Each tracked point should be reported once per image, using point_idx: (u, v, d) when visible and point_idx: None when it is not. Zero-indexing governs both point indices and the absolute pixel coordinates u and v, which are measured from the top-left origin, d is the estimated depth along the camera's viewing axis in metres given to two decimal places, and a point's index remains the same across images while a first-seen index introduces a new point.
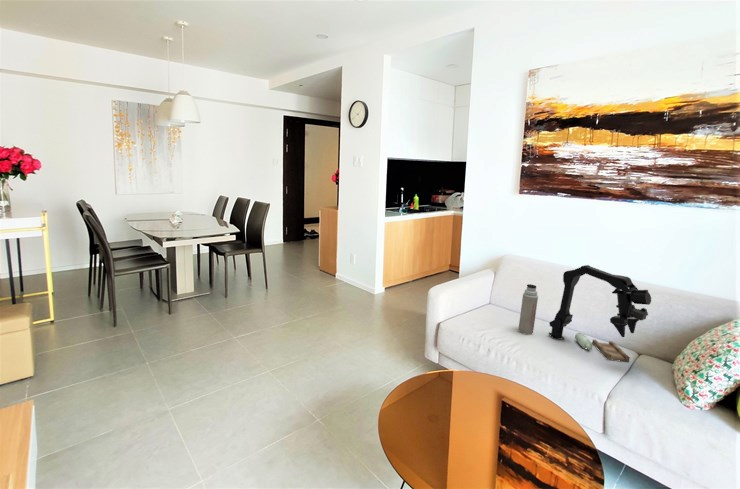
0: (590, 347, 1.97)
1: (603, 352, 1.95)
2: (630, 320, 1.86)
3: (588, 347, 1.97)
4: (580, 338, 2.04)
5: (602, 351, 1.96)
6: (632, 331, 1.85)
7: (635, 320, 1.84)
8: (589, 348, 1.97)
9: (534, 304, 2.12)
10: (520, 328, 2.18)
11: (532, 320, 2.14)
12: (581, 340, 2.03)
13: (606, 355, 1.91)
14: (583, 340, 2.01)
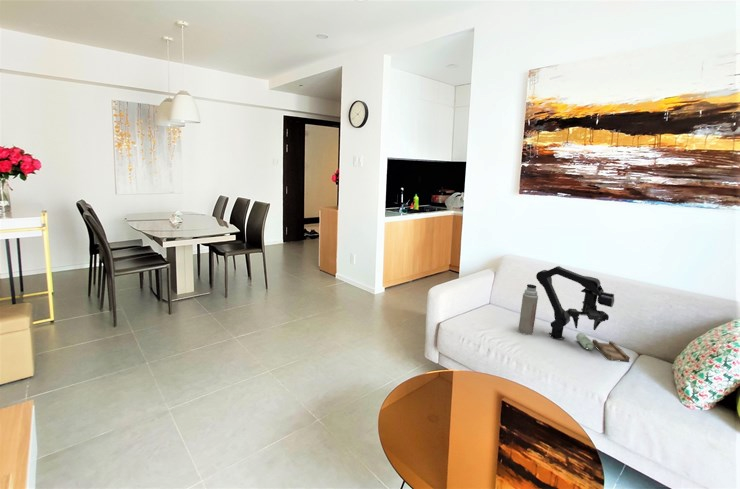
0: (591, 347, 1.97)
1: (603, 352, 1.95)
2: None
3: (589, 347, 1.97)
4: (582, 337, 2.04)
5: (602, 351, 1.96)
6: (594, 328, 2.03)
7: (598, 320, 2.00)
8: (590, 348, 1.97)
9: (534, 304, 2.12)
10: (520, 328, 2.18)
11: (532, 320, 2.14)
12: (583, 339, 2.02)
13: (606, 355, 1.91)
14: (586, 340, 2.01)
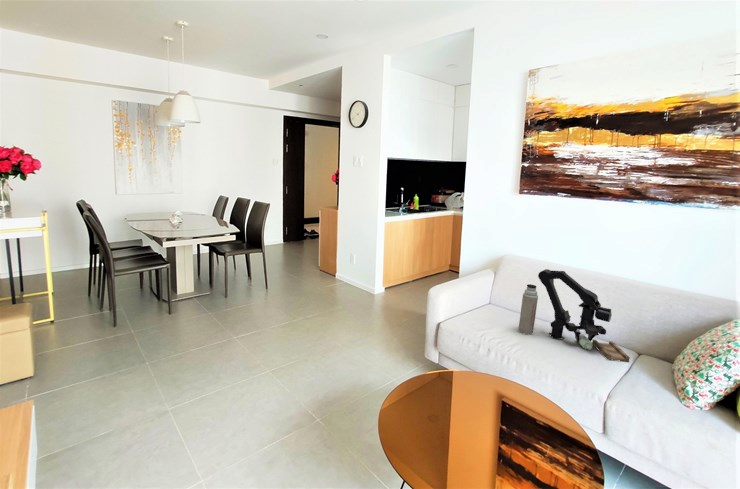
0: (590, 347, 1.97)
1: (603, 352, 1.95)
2: None
3: (588, 347, 1.97)
4: (580, 338, 2.04)
5: (602, 351, 1.96)
6: None
7: None
8: (589, 348, 1.97)
9: (534, 304, 2.12)
10: (520, 328, 2.18)
11: (532, 320, 2.14)
12: (581, 340, 2.03)
13: (606, 355, 1.91)
14: (583, 340, 2.01)
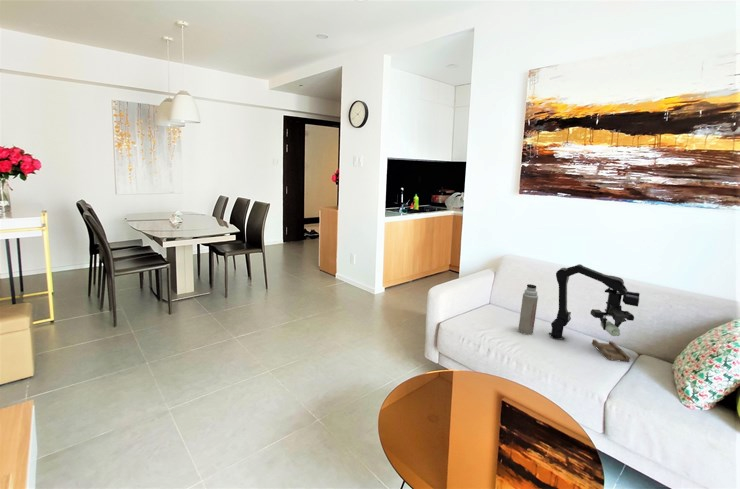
0: (618, 333, 1.90)
1: (603, 352, 1.95)
2: None
3: (616, 333, 1.90)
4: (606, 325, 1.97)
5: (602, 351, 1.96)
6: None
7: None
8: (617, 334, 1.90)
9: (534, 304, 2.12)
10: (520, 328, 2.18)
11: (532, 320, 2.14)
12: (608, 327, 1.95)
13: (606, 355, 1.91)
14: (610, 326, 1.94)
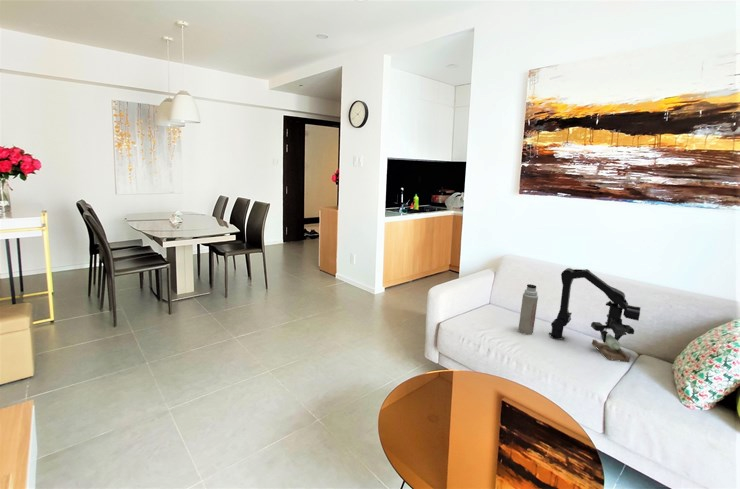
0: (618, 347, 1.91)
1: (603, 352, 1.95)
2: None
3: (616, 347, 1.91)
4: (607, 337, 1.98)
5: (602, 351, 1.96)
6: None
7: (619, 333, 1.96)
8: (617, 348, 1.91)
9: (534, 304, 2.12)
10: (520, 328, 2.18)
11: (532, 320, 2.14)
12: (608, 340, 1.96)
13: (606, 355, 1.91)
14: (610, 339, 1.95)
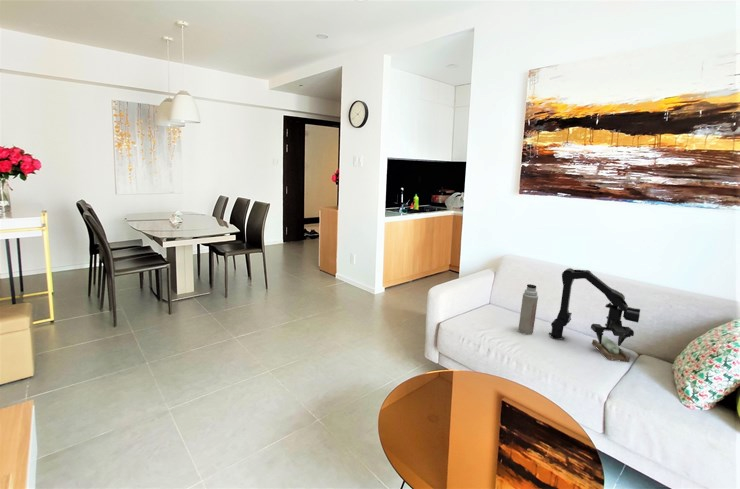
0: (617, 351, 1.91)
1: (603, 352, 1.95)
2: None
3: (615, 351, 1.91)
4: (606, 342, 1.98)
5: (602, 351, 1.96)
6: (618, 344, 1.98)
7: (623, 335, 1.96)
8: (616, 352, 1.92)
9: (534, 304, 2.12)
10: (520, 328, 2.18)
11: (532, 320, 2.14)
12: (607, 344, 1.97)
13: (606, 355, 1.91)
14: (609, 344, 1.95)
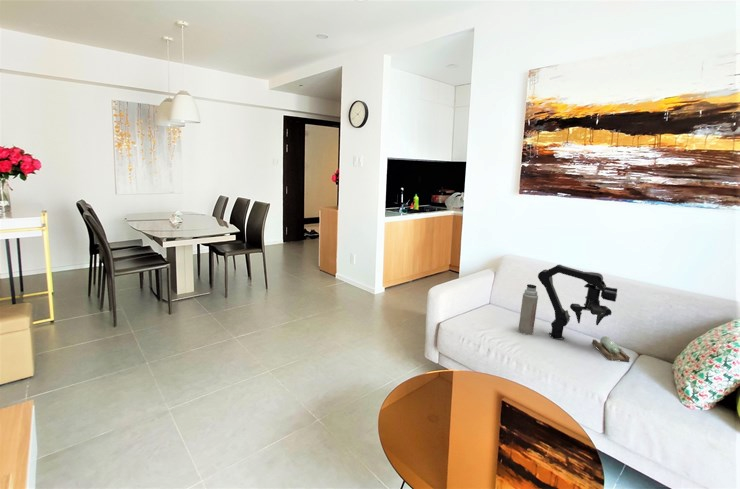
0: (618, 351, 1.91)
1: (603, 352, 1.95)
2: None
3: (616, 351, 1.91)
4: (607, 342, 1.98)
5: (602, 351, 1.96)
6: (596, 323, 2.03)
7: (601, 315, 2.00)
8: (616, 352, 1.91)
9: (534, 304, 2.12)
10: (520, 328, 2.18)
11: (532, 320, 2.14)
12: (608, 344, 1.97)
13: (606, 355, 1.91)
14: (610, 344, 1.95)
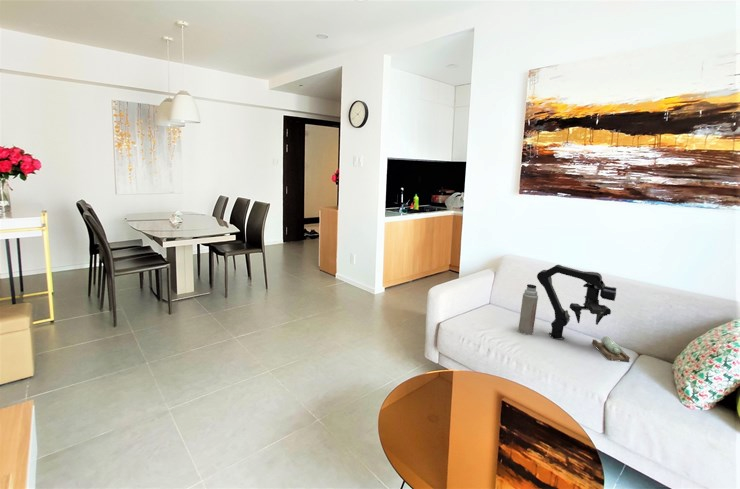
0: (619, 352, 1.91)
1: (603, 352, 1.95)
2: None
3: (617, 351, 1.91)
4: (608, 341, 1.98)
5: (602, 351, 1.96)
6: (596, 322, 2.03)
7: (600, 314, 2.00)
8: (617, 352, 1.91)
9: (534, 304, 2.12)
10: (520, 328, 2.18)
11: (532, 320, 2.14)
12: (610, 343, 1.96)
13: (606, 355, 1.91)
14: (612, 344, 1.95)
